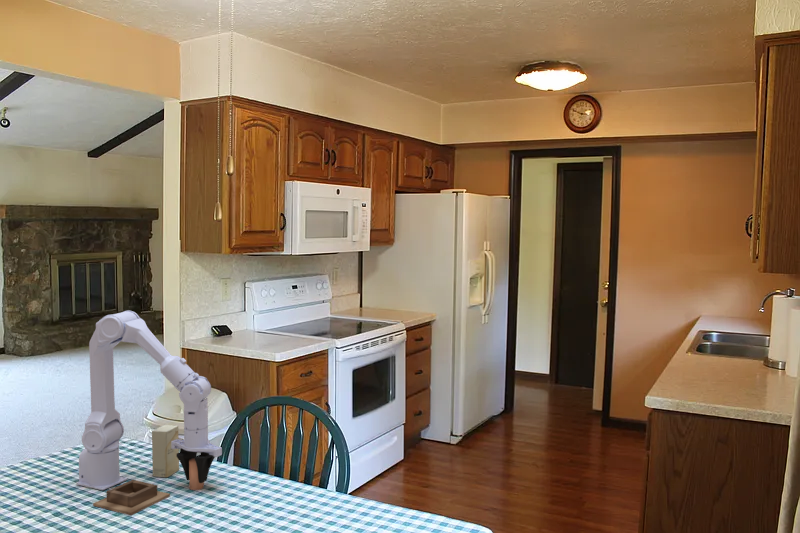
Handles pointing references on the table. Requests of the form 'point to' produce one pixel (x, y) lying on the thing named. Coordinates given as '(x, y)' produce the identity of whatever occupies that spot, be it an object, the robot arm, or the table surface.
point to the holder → (131, 497)
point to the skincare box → (164, 451)
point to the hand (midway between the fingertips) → (196, 480)
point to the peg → (194, 476)
